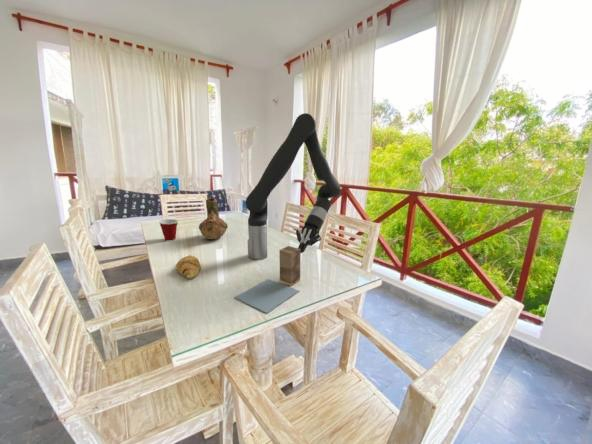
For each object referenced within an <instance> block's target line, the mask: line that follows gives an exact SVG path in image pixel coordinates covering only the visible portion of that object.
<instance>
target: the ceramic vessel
mask: <svg viewBox="0 0 592 444" xmlns="http://www.w3.org/2000/svg"><path fill="white" fill-rule="evenodd" d="M205 204H206V206H205V208H206V214H207V217H206V219H204V220H203V221H202V222H200V223H199V224H198V229H199V231H200V233H201V235H202V236H203V237H204V238H206V239H209V240H216V239H219V238H221V237H223V236H224V235H225V233H226V232H227V229H228V223H227V222H226V221H225V220H223V218H221V217H220V215H219V206H218V200H217V199H216V198H215V197H213V198H207V199H205Z"/></svg>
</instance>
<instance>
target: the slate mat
mask: <svg viewBox="0 0 592 444" xmlns="http://www.w3.org/2000/svg"><path fill="white" fill-rule="evenodd" d="M298 293H300V290H298V289H296V288H293V287H292V286H289V285H286V284H284V283H281V282H277V281H275V280H272V279H269V278H267V279H266V280H263V281H262V282H260V283H258V284H256V285H254V286H252V287H251V288H249V289H246V290H245V291H243V292H241V293H239V294H238V295H235V296H234V299H235V298H237V299H236V300H238V299H239V300H238V301H240V300H241V301H240V302H242V301H243V302H242V303H244V302H245V303H244V304H246V303H247V304H246V305H248V304H249V305H248V306H250V305H252V306H254V307H255V308H254V307H253V308H254V309H256V308H257V309H256V310H258V309H259V310H258V311H260V310H261V311H260V312H262V311H263V312H262V313H264V312H265V313H264V314H266V313H268V314H269V313H270V312H272V311H273V310H275V309H277V307H279V306H280V305H282V304H283V303H285V302H287V301H288V300H290V299H291V298H292V297H294V296H295V295H297V294H298ZM252 306H251V307H252Z"/></svg>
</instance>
